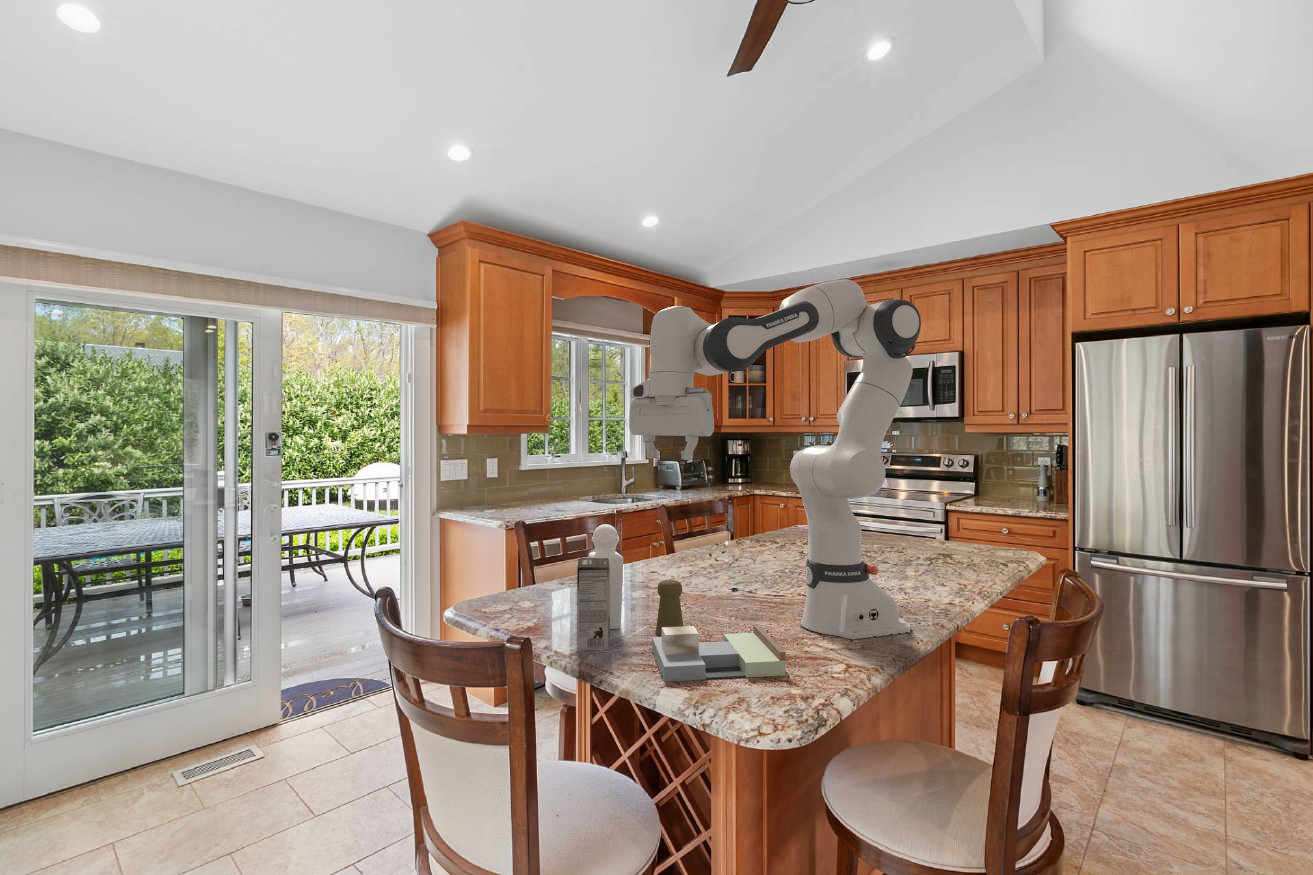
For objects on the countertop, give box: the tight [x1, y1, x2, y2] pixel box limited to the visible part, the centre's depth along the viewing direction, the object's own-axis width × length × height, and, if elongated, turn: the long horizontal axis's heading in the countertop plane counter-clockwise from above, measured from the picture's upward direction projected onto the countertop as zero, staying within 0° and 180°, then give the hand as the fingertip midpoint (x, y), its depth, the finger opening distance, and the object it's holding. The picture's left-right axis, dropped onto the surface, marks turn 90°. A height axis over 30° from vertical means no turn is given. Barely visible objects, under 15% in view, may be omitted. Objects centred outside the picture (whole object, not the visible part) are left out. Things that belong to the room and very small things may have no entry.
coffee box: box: [576, 557, 611, 651], centre depth 127 cm, size 9×6×16 cm
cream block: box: [662, 625, 700, 655], centre depth 115 cm, size 6×4×4 cm
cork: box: [655, 579, 684, 637], centre depth 133 cm, size 6×6×11 cm
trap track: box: [651, 624, 787, 682], centre depth 116 cm, size 21×16×4 cm
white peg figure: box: [587, 523, 624, 630], centre depth 139 cm, size 6×6×22 cm
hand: (669, 459), depth 126 cm, fingers open, 8 cm apart
